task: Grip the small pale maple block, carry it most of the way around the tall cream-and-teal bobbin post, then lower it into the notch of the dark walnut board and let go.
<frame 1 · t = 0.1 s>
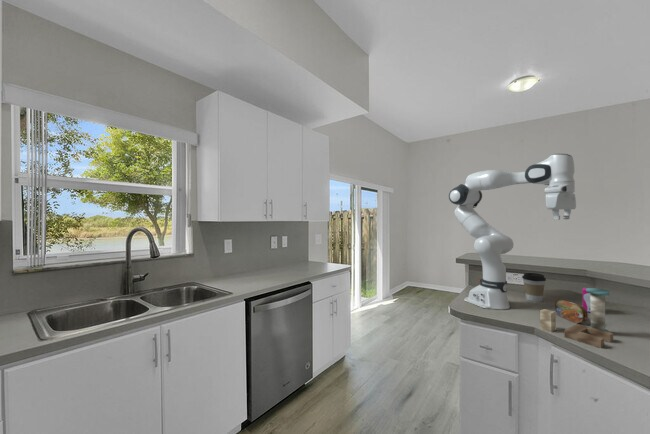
hand: (561, 219, 126), 48 cm above the worktop, fingers open, 8 cm apart
coffee cup: (534, 300, 161), on the worktop
bobbin post: (597, 332, 117), on the worktop
tin: (570, 320, 131), on the worktop
notched board: (590, 339, 111), on the worktop
supplement box: (590, 311, 142), on the worktop
maple block: (547, 329, 121), on the worktop
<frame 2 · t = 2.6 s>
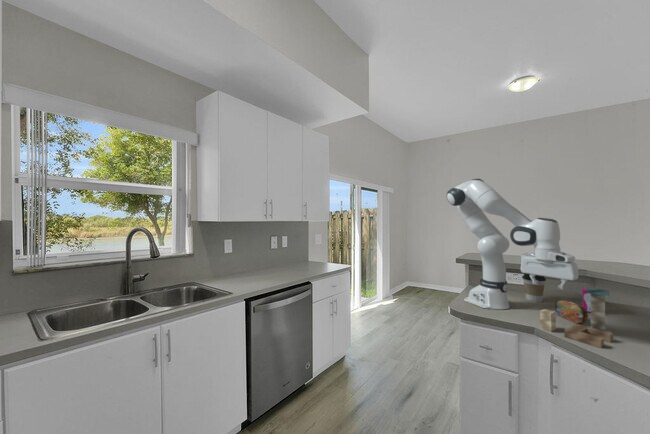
hand: (547, 286, 121), 19 cm above the worktop, fingers open, 8 cm apart
nothing on the worktop moved.
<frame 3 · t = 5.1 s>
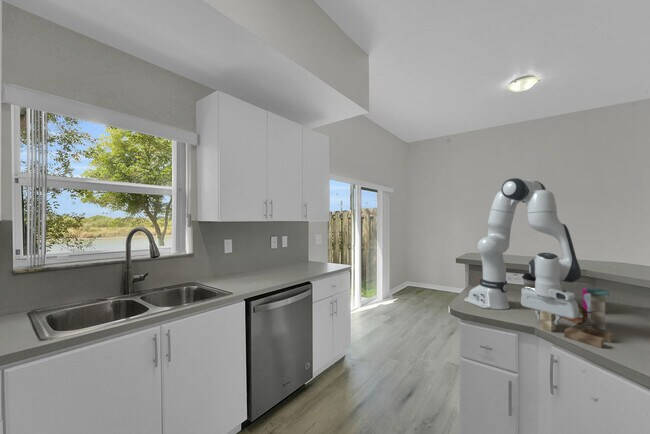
hand: (547, 322, 121), 3 cm above the worktop, fingers closed on maple block, 4 cm apart
maple block: (547, 329, 121), on the worktop, touching gripper
everything else where it was.
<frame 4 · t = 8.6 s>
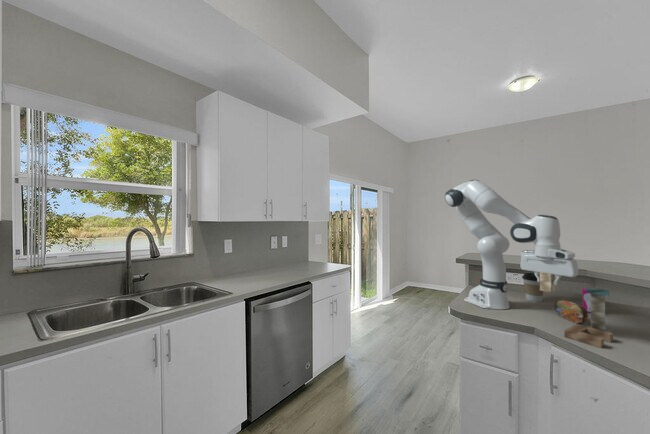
hand: (547, 283, 121), 20 cm above the worktop, fingers closed on maple block, 4 cm apart
maple block: (547, 290, 121), point 17 cm above the worktop, touching gripper
everything else where it was.
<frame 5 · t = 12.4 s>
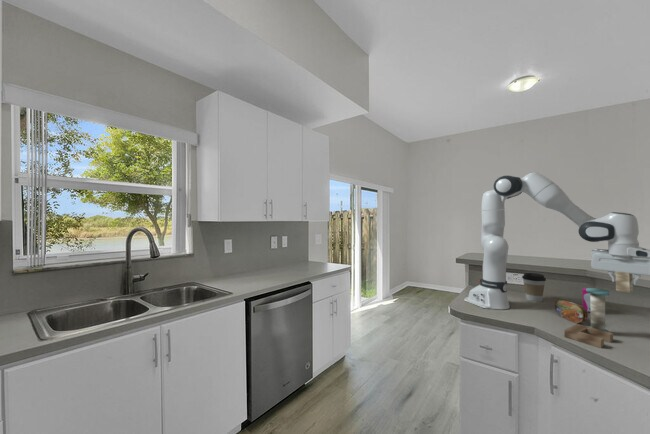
hand: (624, 283, 116), 21 cm above the worktop, fingers closed on maple block, 4 cm apart
maple block: (624, 290, 116), point 18 cm above the worktop, touching gripper
everything else where it was.
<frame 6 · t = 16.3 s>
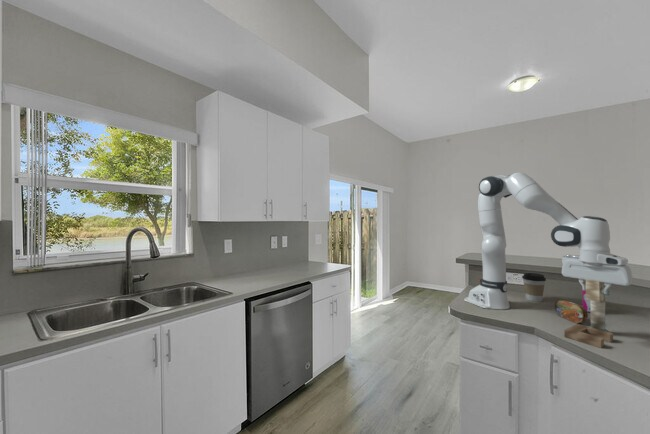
hand: (594, 292, 109), 19 cm above the worktop, fingers closed on maple block, 4 cm apart
maple block: (594, 299, 109), point 16 cm above the worktop, touching gripper
everything else where it was.
when the fingers open (5 cm above the worktop, at t = 19.9 s): maple block drops 2 cm, on the worktop.
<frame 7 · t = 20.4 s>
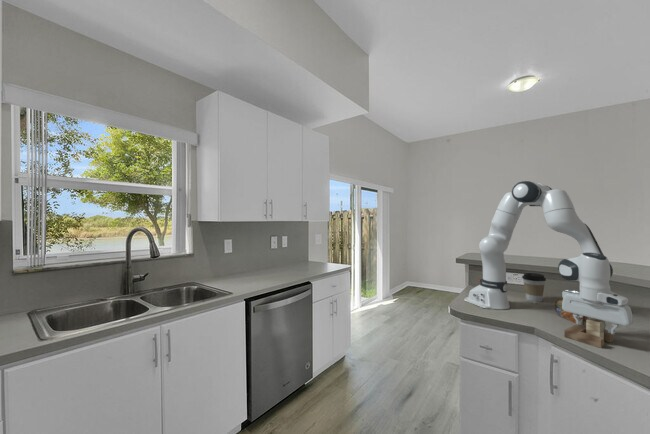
hand: (594, 329, 109), 5 cm above the worktop, fingers open, 8 cm apart
maple block: (595, 340, 109), on the worktop
everything else where it was.
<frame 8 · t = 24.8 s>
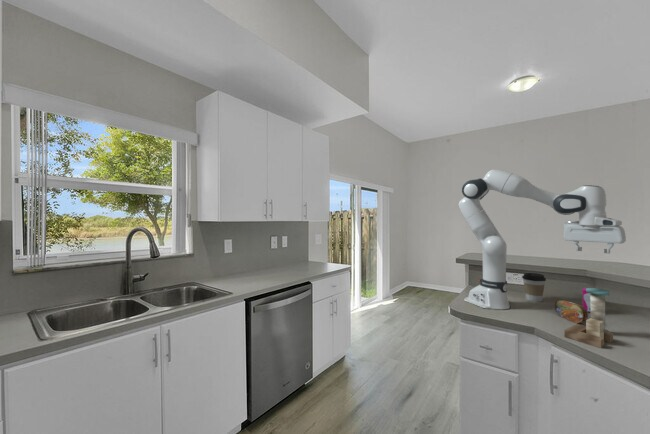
hand: (592, 252, 124), 33 cm above the worktop, fingers open, 8 cm apart
nothing on the worktop moved.
at the end: maple block 0.2 cm from the target spot on the notched board, point 0.0 cm above the notched board's base; maple block tilted 0°; the gripper is holding nothing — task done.
